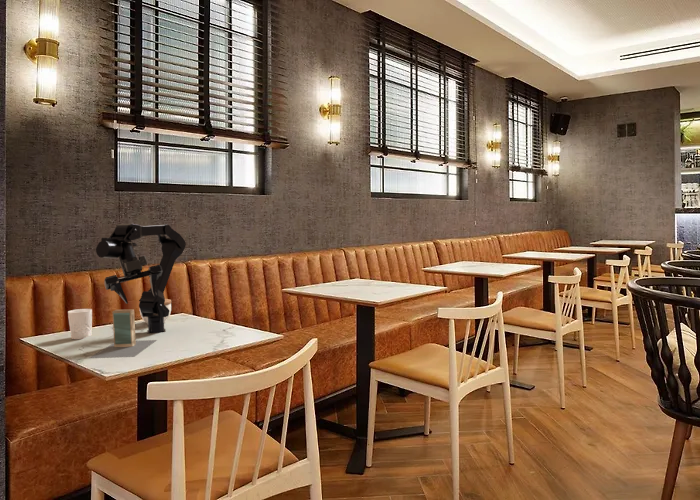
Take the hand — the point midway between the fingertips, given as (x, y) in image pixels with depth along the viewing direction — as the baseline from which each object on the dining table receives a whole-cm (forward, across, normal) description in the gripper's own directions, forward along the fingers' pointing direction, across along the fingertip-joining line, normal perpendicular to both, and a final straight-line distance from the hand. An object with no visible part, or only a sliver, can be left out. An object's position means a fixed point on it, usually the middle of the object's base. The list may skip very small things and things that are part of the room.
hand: (141, 299), depth 185 cm
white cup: (0, -19, +28) cm, 34 cm away
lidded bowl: (0, +9, +40) cm, 41 cm away
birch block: (+13, -9, +4) cm, 16 cm away
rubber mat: (+15, -9, +1) cm, 18 cm away
